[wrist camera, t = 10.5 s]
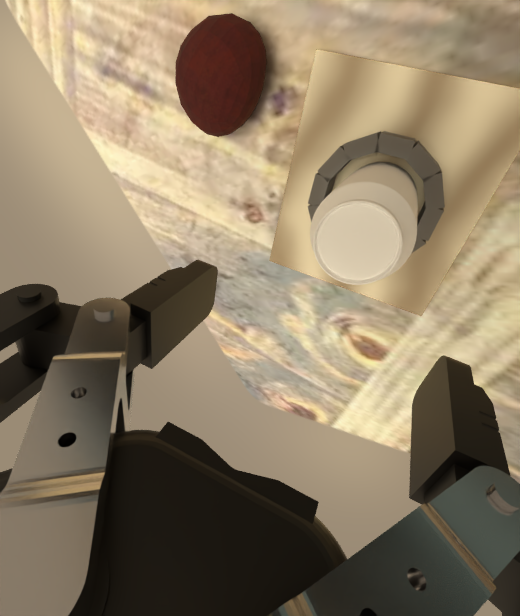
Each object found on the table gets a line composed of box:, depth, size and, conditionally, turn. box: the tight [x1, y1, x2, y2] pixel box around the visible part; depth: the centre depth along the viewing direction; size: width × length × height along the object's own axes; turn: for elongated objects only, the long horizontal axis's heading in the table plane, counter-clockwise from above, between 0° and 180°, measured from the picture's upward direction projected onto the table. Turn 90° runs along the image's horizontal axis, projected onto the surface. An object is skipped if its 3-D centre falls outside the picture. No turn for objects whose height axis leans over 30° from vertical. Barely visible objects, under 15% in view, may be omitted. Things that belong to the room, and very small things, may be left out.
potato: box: [176, 14, 266, 137], centre depth 26 cm, size 7×8×6 cm
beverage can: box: [310, 162, 418, 285], centre depth 23 cm, size 6×6×12 cm
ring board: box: [269, 49, 520, 316], centre depth 27 cm, size 16×18×4 cm
